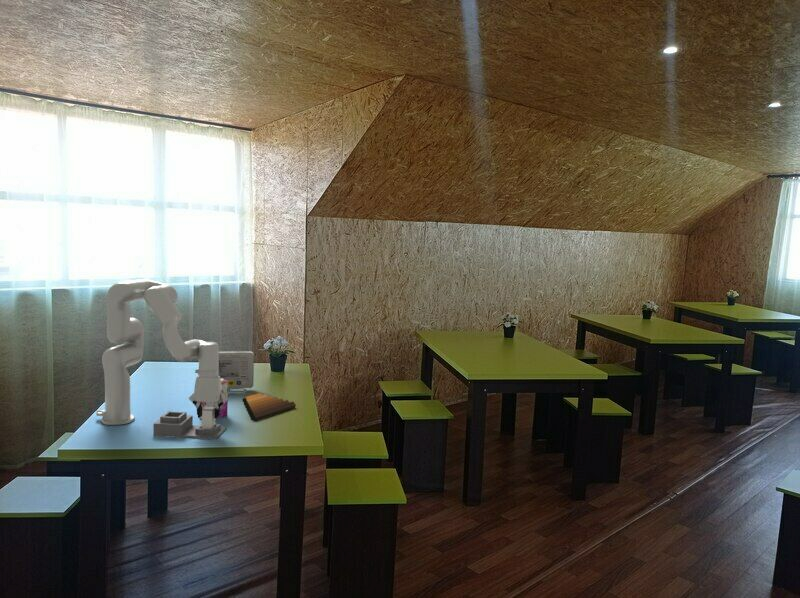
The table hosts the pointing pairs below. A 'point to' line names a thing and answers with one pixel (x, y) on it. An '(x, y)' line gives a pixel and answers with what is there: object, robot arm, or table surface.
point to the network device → (237, 369)
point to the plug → (208, 418)
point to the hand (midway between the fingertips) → (208, 416)
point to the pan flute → (265, 406)
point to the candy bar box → (224, 407)
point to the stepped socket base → (183, 427)
